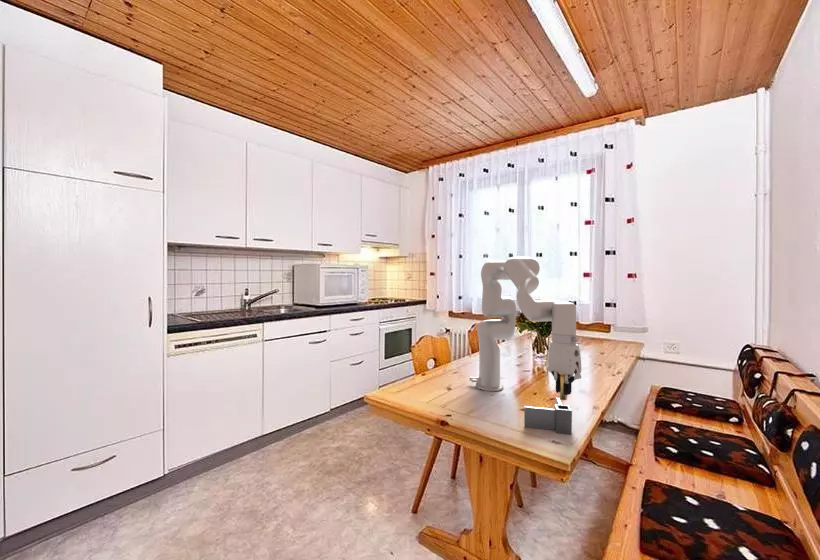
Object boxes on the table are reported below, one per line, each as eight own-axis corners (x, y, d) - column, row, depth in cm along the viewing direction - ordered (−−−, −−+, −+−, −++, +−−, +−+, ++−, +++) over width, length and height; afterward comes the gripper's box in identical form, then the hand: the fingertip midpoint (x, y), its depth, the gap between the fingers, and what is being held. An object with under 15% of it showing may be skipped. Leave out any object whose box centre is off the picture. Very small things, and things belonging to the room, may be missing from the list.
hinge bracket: (524, 429, 121) (524, 406, 120) (522, 412, 135) (522, 391, 135) (571, 434, 117) (571, 410, 117) (564, 416, 131) (564, 395, 131)
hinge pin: (558, 400, 118) (558, 371, 118) (557, 396, 121) (557, 369, 121) (569, 401, 117) (569, 372, 117) (567, 397, 121) (568, 370, 120)
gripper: (593, 341, 114) (592, 398, 114) (551, 334, 128) (550, 384, 128) (578, 344, 110) (577, 402, 111) (536, 336, 124) (536, 388, 124)
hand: (563, 392), depth 119 cm, fingers closed on hinge pin, 2 cm apart
